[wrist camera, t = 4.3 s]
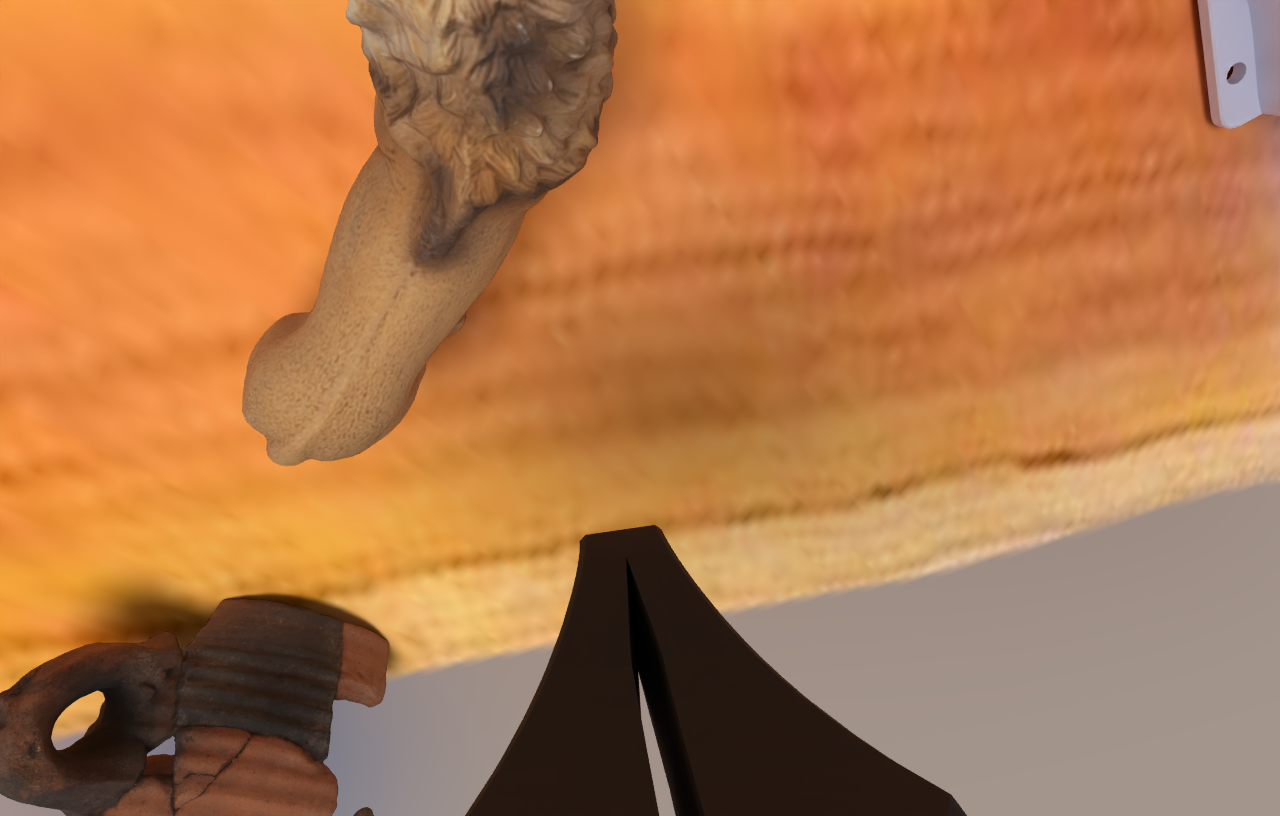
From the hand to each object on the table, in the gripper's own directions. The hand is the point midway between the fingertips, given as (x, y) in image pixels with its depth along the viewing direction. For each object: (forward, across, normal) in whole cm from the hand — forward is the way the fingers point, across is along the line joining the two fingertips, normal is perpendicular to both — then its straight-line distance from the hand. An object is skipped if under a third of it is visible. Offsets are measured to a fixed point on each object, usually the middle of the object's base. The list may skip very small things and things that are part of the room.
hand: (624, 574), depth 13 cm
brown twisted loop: (+10, +13, +11) cm, 20 cm away
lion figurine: (+10, +4, -5) cm, 12 cm away
